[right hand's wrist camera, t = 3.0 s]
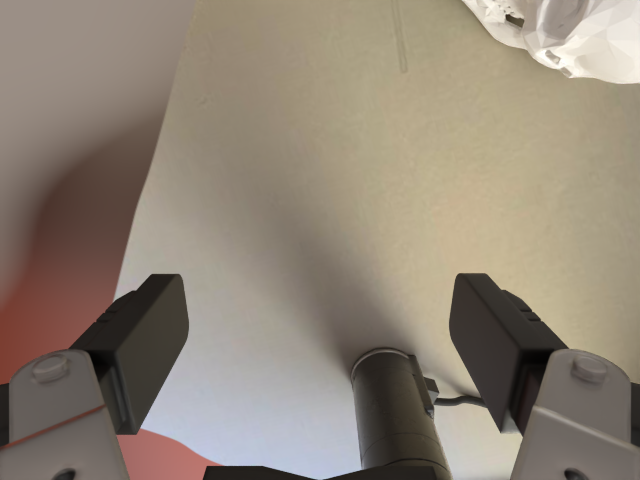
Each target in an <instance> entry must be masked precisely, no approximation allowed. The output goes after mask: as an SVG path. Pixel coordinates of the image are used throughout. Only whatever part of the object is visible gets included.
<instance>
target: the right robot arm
mask: <svg viewBox="0 0 640 480" xmlns="http://www.w3.org/2000/svg"><path fill="white" fill-rule="evenodd" d="M449 330H450V336H451V339H452V342H453V344H454V346H455V348H456V350H457V351H458V353H459V355H460V357H461V359H462V361H463V363H464V365H465V367H466V368H467V370H468V372H469V374H470V376H471V378H472V380H473V382H474V384H475V386H476V387H477V389H478V391H479V393H480V395H481V397H482V399H483V400H482V399H479V398H475V397H470V396H460V397H457V398H452V399H446V398H437V396H438V394H439V391H438V388H437V386H436V383H435V381H434V380H433V379H429V378H426V377H423V375H422V372H421V369H420V367H419V364H418V361H417V358H416V356H408V355H406V354H405V353H403V352H401V351H399V350H395V349H390V348H382V349H376V350H373V351H370V352H368V353H366V354H364V355H363V356H361V357H360V358H359V359H358V360H357V361H356V363H355V364H354V366H353V368H352V372H351V382H352V388H353V394H354V403H355V412H356V421H357V430H358V439H359V448H360V457H361V466H362V470H360V471H356V472H352V473H348V474H344V475H340V476H336V477H332V478H328V479H324V480H453V477H452V474H451V471H450V468H449V465H448V462H447V459H446V456H445V453H444V450H443V448H442V445H441V442H440V439H439V436H438V433H437V430H436V427H435V424H434V406H433V405H440V406H456V405H459V404H462V403H469V404H475V405H479V406H482V407H485V408H488V410H489V412H490V414H491V416H492V418H493V420H494V422H495V423H496V425H497V427H498V429H499V431H500V433H521V435H522V436H523V439H522V443H521V446H520V449H519V452H518V455H517V458H516V462H515V465H514V468H513V471H512V474H511V477H510V480H640V384H636V383H631V382H630V380H629V377H628V376H627V375H626V374H625V372H624V371H622V370H621V369H620V368H619V367H618V366H616V365H615V364H613V363H612V362H610V361H608V360H606V359H605V358H602V357H600V356H598V355H595V354H592V353H589V352H586V351H581V350H575V349H569V348H568V347H567V346H566V345H565V344H564V343H563V342H562V341H561V340H560V339H559V337H558V336H557V335H556V334H555V333H554V332H553V331H552V330H551V329H550V328H549V327H548V326H547V325H546V324H545V323H544V322H543V321H541V319H540V318H539V317H538V316H537V315H536V314H535V313H534V312H532V310H531V309H530V307H529V306H528V305H527V304H526V303H525V302H524V301H523V300H522V299H520V298H519V297H517V296H515V295H513V294H511V293H510V292H508V291H506V290H501V289H500V288H499V287H498V286H497V285H496V284H495V283H494V281H493V280H492V279H491V278H490V277H489V276H488V275H487V274H485V273H459V274H458V275H457V276H456V279H455V284H454V291H453V298H452V305H451V312H450V319H449ZM188 331H189V319H188V312H187V305H186V299H185V292H184V285H183V280H182V277H181V275H180V274H151V275H150V276H149V277H148V278H147V279H146V281H145V282H144V283H143V284H142V285H141V286H140V287H139V288H138V289H137V290H136V291H131V292H129V293H127V294H126V295H124V296H122V297H120V298H118V299H117V300H115V301H114V302H113V303H112V305H111V306H110V307H109V308H108V309H107V310H106V311H105V313H103V314H102V315H101V316H100V317H99V318H98V319H97V321H96V322H94V323H93V324H92V325H91V326H90V327H89V328H88V329H87V330H86V331H85V332H84V333H83V334H82V335H81V336H80V337H79V338H78V339H77V340H76V341H75V342H74V343H73V345H72V346H71V347H70V348H69V349H65V350H59V351H54V352H51V353H48V354H45V355H42V356H40V357H38V358H35V359H34V360H32V361H30V362H28V363H27V364H25V365H24V366H22V367H21V368H20V369H19V370H18V371H16V372H15V374H14V375H13V376H12V377H11V380H10V382H9V383H7V384H2V385H0V480H130V477H129V474H128V471H127V468H126V465H125V462H124V458H123V455H122V452H121V449H120V446H119V443H118V439H117V436H116V435H136V434H137V432H138V431H139V429H140V427H141V425H142V423H143V421H144V419H145V418H146V416H147V414H148V412H149V410H150V408H151V406H152V404H153V403H154V401H155V399H156V397H157V395H158V393H159V391H160V389H161V388H162V386H163V384H164V382H165V380H166V378H167V376H168V374H169V373H170V371H171V369H172V367H173V365H174V363H175V361H176V359H177V358H178V356H179V354H180V352H181V350H182V348H183V346H184V345H185V343H186V340H187V337H188ZM203 480H316V479H312V478H308V477H304V476H300V475H296V474H292V473H288V472H284V471H280V470H276V469H272V468H268V467H264V466H207V467H206V471H205V474H204V477H203Z"/></svg>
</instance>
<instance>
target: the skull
mask: <svg viewBox="0 0 640 480" xmlns="http://www.w3.org/2000/svg"><path fill="white" fill-rule="evenodd" d="M462 1H463V2H464V3H465V4H466V5H467V6H468V7H469V9H470V10H471V11H472V12H473V13H474V14H475V15H476V17H477V18H478V19H479V21H480V22H481V23H482V24H483V26H484V27H485V28H486V29H487V31H488V32H489V33H490V34H491V35H492V36H493V38H494V39H496V40H498V41H500V42H502V43H504V44H506V45H508V46H512V47H517V48H523V49H525V50H527V51H528V52H529V53H530V55H531V56H532V57H533V58H534V59H535V60H537V61H538V62H539V63H541V64H543V65H545V66H547V67H549V68H554V69H558V70H560V71H561V72H562V73H563V74H564V75H565V76H566V77H568V78H574V77H592V78H597V79H600V80H603V81H606V82H612V83H617V84H628V83H640V0H462ZM506 14H510V15H511V16H513V17H515V18H522V19H523V20H525V21H524V24H523V27H520V26H518V25H515V24H513V23H511V22H509V21H507V20H506V17H505V16H506Z"/></svg>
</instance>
